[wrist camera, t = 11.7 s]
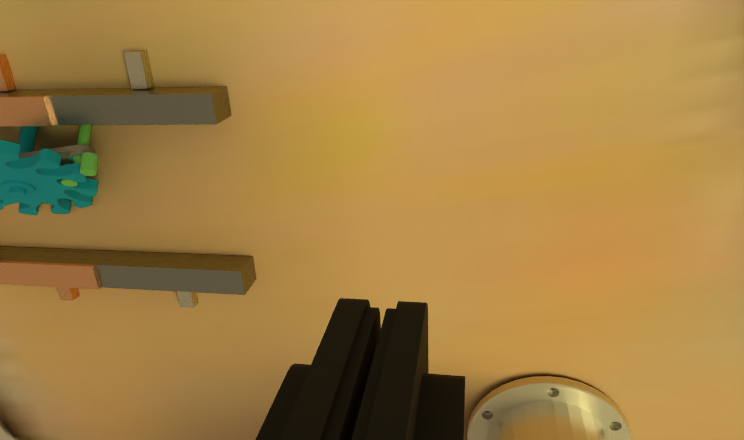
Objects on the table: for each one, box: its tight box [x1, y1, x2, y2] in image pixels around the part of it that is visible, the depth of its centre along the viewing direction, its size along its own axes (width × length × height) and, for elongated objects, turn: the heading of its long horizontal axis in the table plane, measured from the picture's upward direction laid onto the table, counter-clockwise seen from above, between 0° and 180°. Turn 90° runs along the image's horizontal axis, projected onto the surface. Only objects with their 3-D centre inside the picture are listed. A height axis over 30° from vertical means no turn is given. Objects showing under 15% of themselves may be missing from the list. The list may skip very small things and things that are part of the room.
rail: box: [0, 50, 256, 308], centre depth 41 cm, size 20×24×3 cm
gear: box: [0, 125, 98, 215], centre depth 40 cm, size 11×6×10 cm
